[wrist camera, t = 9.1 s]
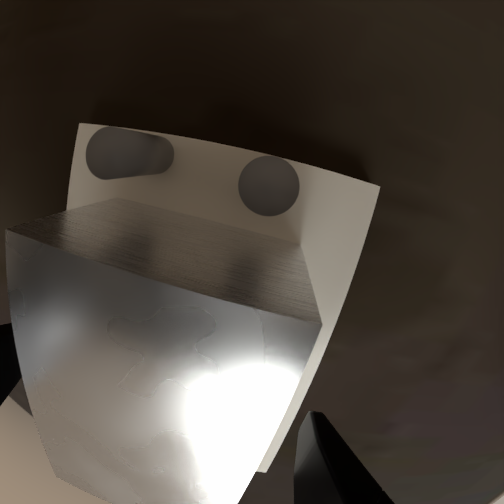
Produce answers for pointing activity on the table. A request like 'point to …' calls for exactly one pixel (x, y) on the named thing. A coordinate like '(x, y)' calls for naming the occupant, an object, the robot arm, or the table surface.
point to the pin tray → (237, 208)
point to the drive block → (157, 347)
